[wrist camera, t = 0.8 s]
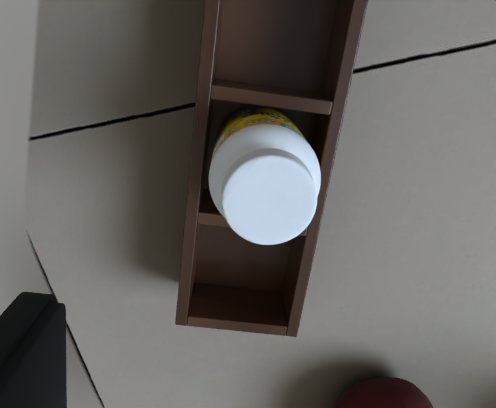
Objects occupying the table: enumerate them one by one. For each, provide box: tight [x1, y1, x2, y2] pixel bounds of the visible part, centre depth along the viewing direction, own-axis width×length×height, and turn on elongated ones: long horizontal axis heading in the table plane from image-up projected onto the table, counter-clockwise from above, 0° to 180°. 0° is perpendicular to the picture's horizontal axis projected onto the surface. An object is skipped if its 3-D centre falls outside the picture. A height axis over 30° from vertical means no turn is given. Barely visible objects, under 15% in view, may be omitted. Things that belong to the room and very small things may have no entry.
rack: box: [175, 0, 368, 337], centre depth 25 cm, size 8×21×5 cm, turn 172°
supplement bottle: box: [209, 106, 321, 245], centre depth 22 cm, size 5×5×10 cm
